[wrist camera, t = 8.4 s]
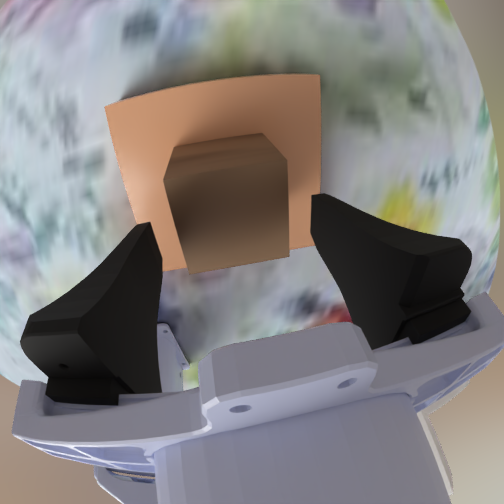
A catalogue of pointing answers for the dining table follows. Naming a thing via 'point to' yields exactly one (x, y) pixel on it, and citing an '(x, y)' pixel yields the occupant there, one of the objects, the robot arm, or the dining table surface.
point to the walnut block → (229, 201)
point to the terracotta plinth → (215, 127)
